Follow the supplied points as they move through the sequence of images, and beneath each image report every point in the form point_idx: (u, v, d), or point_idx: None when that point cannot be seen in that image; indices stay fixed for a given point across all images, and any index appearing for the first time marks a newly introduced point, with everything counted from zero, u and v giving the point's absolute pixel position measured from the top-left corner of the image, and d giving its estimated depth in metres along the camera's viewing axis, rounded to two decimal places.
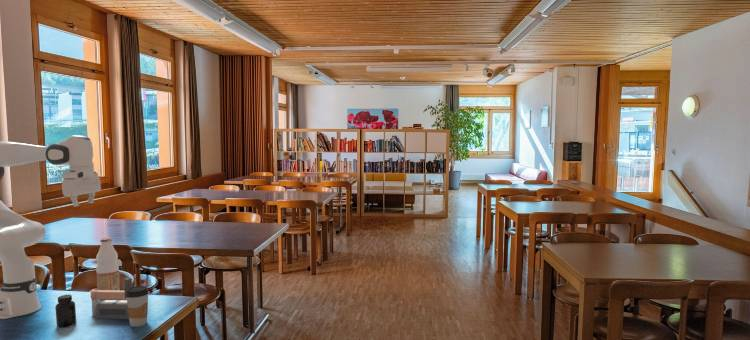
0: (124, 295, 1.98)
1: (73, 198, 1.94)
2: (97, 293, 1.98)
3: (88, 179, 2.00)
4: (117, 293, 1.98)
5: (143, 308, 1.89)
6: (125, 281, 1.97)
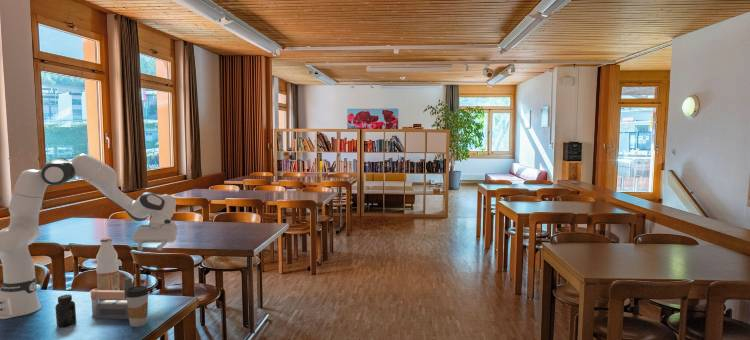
0: (124, 295, 1.98)
1: (165, 243, 2.18)
2: (97, 293, 1.98)
3: None
4: (117, 293, 1.98)
5: (143, 308, 1.89)
6: (125, 281, 1.97)
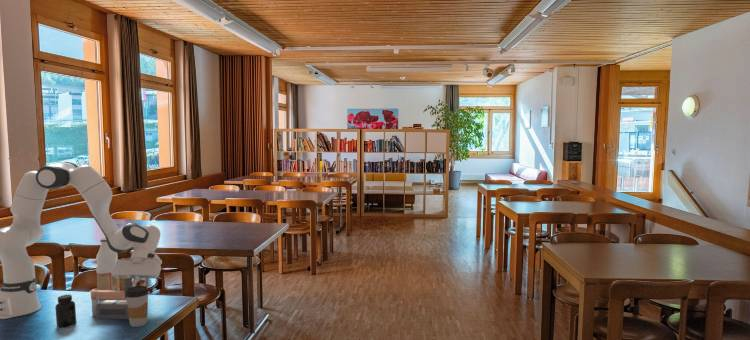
0: (124, 295, 1.98)
1: (138, 279, 2.03)
2: (97, 293, 1.98)
3: None
4: (117, 293, 1.98)
5: (143, 308, 1.89)
6: (125, 281, 1.97)
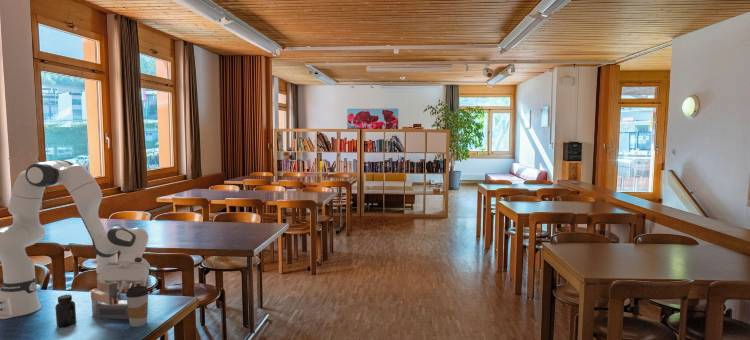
0: (109, 301, 1.91)
1: (125, 284, 1.96)
2: (94, 294, 1.98)
3: None
4: (105, 297, 1.93)
5: (143, 308, 1.89)
6: (109, 286, 1.90)
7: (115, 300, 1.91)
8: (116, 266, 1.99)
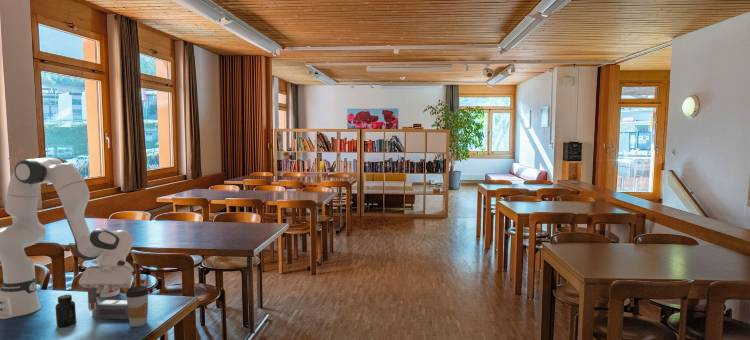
0: None
1: (107, 288, 1.91)
2: None
3: None
4: None
5: (143, 308, 1.89)
6: None
7: (92, 305, 1.85)
8: (98, 269, 1.94)
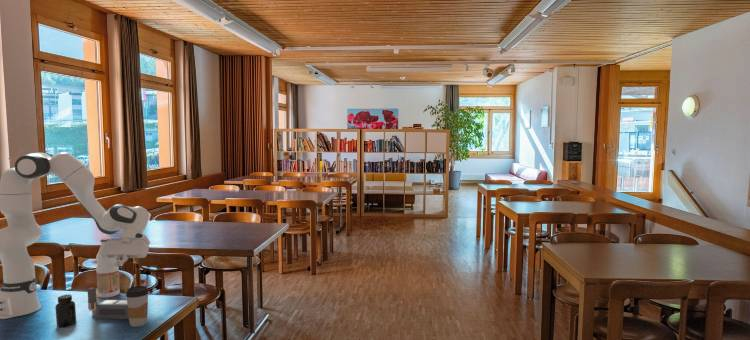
0: None
1: (126, 258, 2.07)
2: None
3: None
4: None
5: (143, 308, 1.89)
6: None
7: (92, 305, 1.85)
8: (118, 241, 2.10)
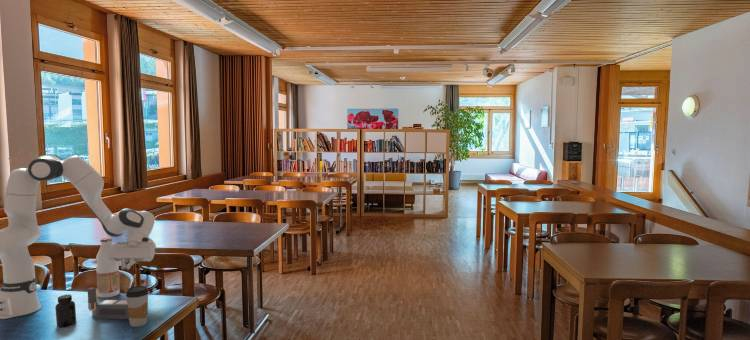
0: None
1: (133, 262, 2.13)
2: None
3: None
4: None
5: (143, 308, 1.89)
6: None
7: (92, 305, 1.85)
8: (125, 245, 2.16)
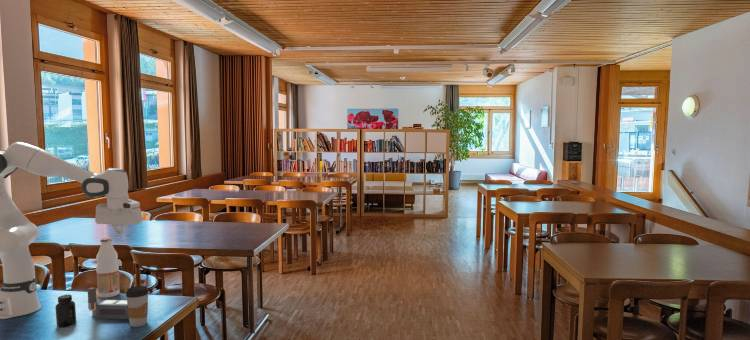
0: None
1: (124, 225, 2.12)
2: None
3: None
4: None
5: (143, 308, 1.89)
6: None
7: (92, 305, 1.85)
8: (108, 210, 2.09)
